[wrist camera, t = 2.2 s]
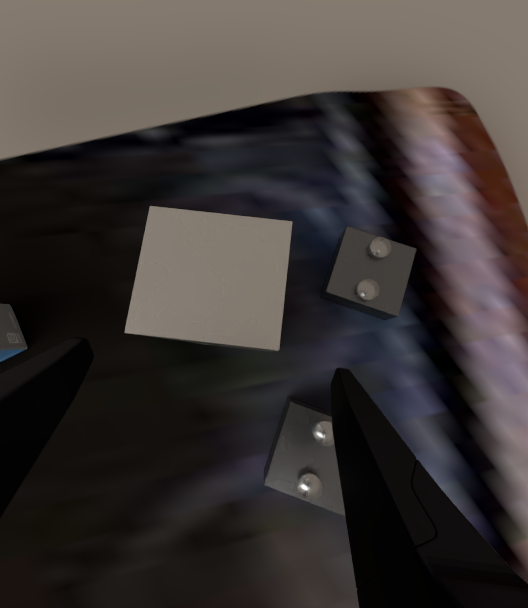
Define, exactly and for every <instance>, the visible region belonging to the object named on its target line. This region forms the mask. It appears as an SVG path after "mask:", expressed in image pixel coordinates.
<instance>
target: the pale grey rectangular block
mask: <svg viewBox="0 0 528 608" xmlns="http://www.w3.org/2000/svg"><path fill="white" fill-rule="evenodd" d="M291 230H292V221H283V220H274V219H264V218H255V217H246V216H237V215H228V214H219V213H209V212H200V211H191V210H182V209H173V208H164V207H154V206H150V209H149V214H148V219H147V224H146V228H145V233H144V238H143V243H142V248H141V253H140V258H139V263H138V268H137V273H136V278H135V283H134V288H133V293H132V298H131V303H130V308H129V313H128V318H127V322H126V327H125V332H124V333H130V334H137V335H144V336H151V337H158V338H165V339H172V340H179V341H186V342H193V343H200V344H206V345H215V346H224V347H232V348H241V349H250V350H258V351H267V352H271V351H279V347H280V337H281V327H282V318H283V308H284V298H285V288H286V279H287V269H288V259H289V249H290V240H291Z"/></svg>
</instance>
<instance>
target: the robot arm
mask: <svg viewBox="0 0 528 608" xmlns="http://www.w3.org/2000/svg"><path fill="white" fill-rule="evenodd" d="M93 357H94V355H93V351H92V349H91V346H90V344H89V341H88V340H87V339H86V338H79V337H74V338H71V339H69V340H67V341H65V342H63V343H61V344H59V345H57V346H55V347H53V348H52V349H50V350H48V351H46V352H44V353H42V354H40V355H38V356H36V357H34V358H32V359H30V360H28V361H26V362H24V363H22V364H20V365H18V366H16V367H14V368H12V369H10V370H8V371H6V372H4V373H2V374H0V518H1V516H2V514H3V513H4V511H5V510H6V508H7V506H8V505H9V503H10V501H11V500H12V498H13V497H14V495H15V493H16V492H17V490H18V489H19V487H20V485H21V484H22V482H23V480H24V479H25V477H26V476H27V474H28V472H29V471H30V469H31V468H32V466H33V464H34V463H35V461H36V460H37V458H38V456H39V455H40V453H41V451H42V450H43V448H44V447H45V445H46V443H47V442H48V440H49V439H50V437H51V435H52V434H53V432H54V430H55V429H56V427H57V426H58V424H59V422H60V421H61V419H62V418H63V416H64V414H65V413H66V411H67V410H68V408H69V406H70V405H71V403H72V401H73V400H74V398H75V396H76V394H77V392H78V390H79V388H80V386H81V384H82V382H83V380H84V378H85V376H86V373H87V371H88V369H89V367H90V365H91V363H92V361H93ZM331 410H332V431H333V438H334V445H335V451H336V458H337V464H338V471H339V477H340V484H341V490H342V497H343V503H344V510H345V516H346V523H347V529H348V536H349V542H350V549H351V555H352V562H353V568H354V575H355V581H356V587H357V595H358V601H359V608H528V583H527V582H526V581H524V580H523V579H522V578H521V577H520V576H519V575H518V574H517V573H516V572H515V571H514V570H513V569H511V568H510V567H509V566H508V564H507V563H506V562H505V561H504V560H503V559H502V558H501V557H500V556H499V555H498V554H497V552H496V551H495V550H494V549H493V548H492V547H491V546H490V545H489V543H488V542H487V541H486V540H485V539H484V538H483V537H482V535H481V534H480V533H479V532H478V531H477V530H476V529H475V528H474V526H473V525H472V524H471V523H470V522H469V521H468V520H467V519H466V517H465V516H464V515H463V514H462V513H461V512H460V511H459V510H458V508H457V507H456V506H455V505H454V504H453V503H452V501H451V500H450V499H449V498H448V497H447V496H446V494H445V493H444V492H443V491H442V490H441V488H440V487H439V486H438V485H437V483H436V482H435V481H434V480H433V478H432V477H431V476H430V475H429V473H428V472H427V471H426V470H425V468H424V467H423V466H422V464H421V463H420V462H419V460H416V457H415V455H414V454H413V453H412V451H411V450H410V449H409V447H408V446H407V445H406V443H405V442H404V441H403V440H402V438H401V437H400V436H399V434H398V433H397V432H396V430H395V429H394V428H393V426H392V425H391V424H390V422H389V421H388V420H387V419H386V417H385V416H384V415H383V413H382V412H381V411H380V409H379V408H378V407H377V405H376V404H375V403H374V402H373V400H372V399H371V398H370V396H369V395H368V394H367V392H366V391H365V390H364V388H363V387H362V386H361V384H360V383H359V382H358V381H357V379H356V378H355V377H354V375H353V374H352V373H351V371H350V370H349V369H344V368H337V369H336V371H335V374H334V376H333V379H332V382H331Z"/></svg>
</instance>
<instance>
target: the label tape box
mask: <svg viewBox="0 0 528 608" xmlns="http://www.w3.org/2000/svg"><path fill="white" fill-rule="evenodd" d="M26 349H27V345H26V342H25V340H24V337H23V334H22V332H21V329H20V326H19V324H18V321H17V319H16V317H15V314H14V312H13V310H12V308H11V306H10V305H9V304H0V362H1V361H3V360H5V359H7V358H9V357H12V356H14V355H16V354H18V353H20V352H22V351H24V350H26Z"/></svg>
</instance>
